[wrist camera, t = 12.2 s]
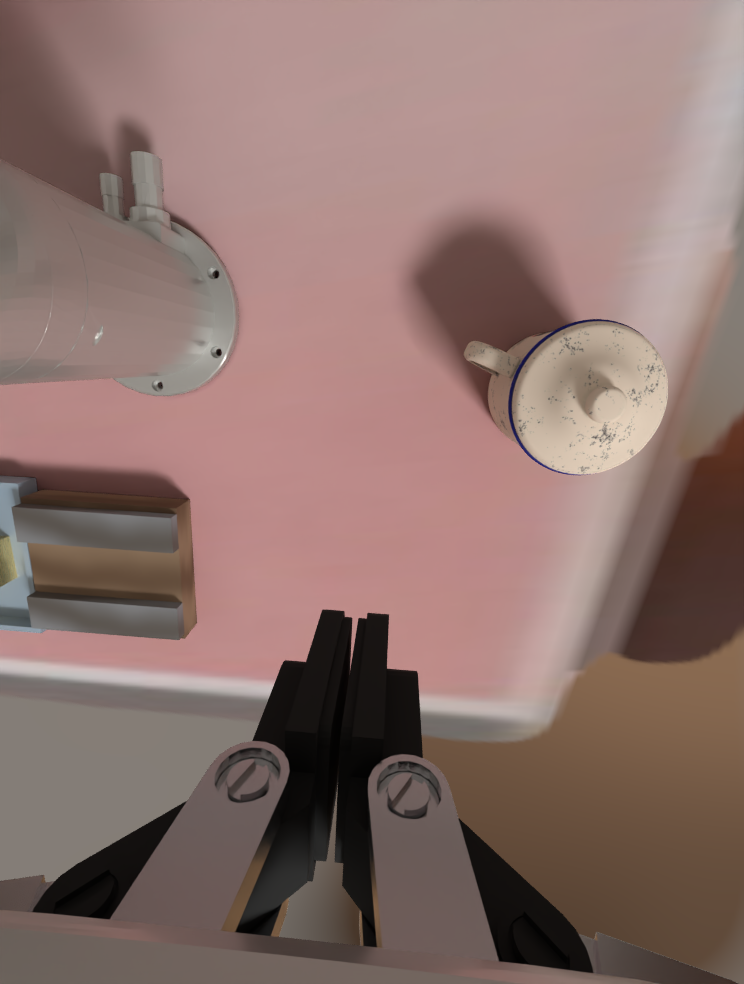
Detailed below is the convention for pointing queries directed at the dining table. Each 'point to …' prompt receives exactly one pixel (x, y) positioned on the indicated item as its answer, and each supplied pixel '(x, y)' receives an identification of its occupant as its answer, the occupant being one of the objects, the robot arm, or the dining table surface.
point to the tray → (16, 558)
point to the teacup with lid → (576, 394)
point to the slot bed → (109, 563)
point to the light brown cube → (6, 561)
